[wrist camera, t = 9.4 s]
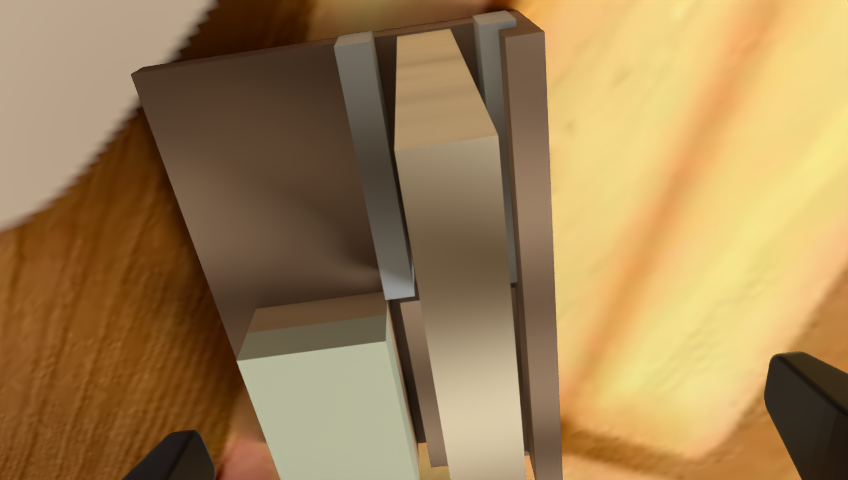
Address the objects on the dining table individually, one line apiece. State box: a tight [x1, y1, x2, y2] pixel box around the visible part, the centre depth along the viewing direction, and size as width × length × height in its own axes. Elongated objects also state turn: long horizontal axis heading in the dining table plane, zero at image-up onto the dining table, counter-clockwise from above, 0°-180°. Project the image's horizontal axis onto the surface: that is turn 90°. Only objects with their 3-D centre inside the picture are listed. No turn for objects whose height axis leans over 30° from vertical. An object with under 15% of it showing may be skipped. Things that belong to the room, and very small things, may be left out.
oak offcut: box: [247, 292, 419, 468], centre depth 24 cm, size 8×5×2 cm, turn 8°
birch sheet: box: [394, 29, 526, 480], centre depth 15 cm, size 8×2×10 cm, turn 8°
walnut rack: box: [131, 10, 563, 480], centre depth 21 cm, size 17×12×4 cm
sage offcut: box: [237, 315, 419, 480], centre depth 22 cm, size 8×5×2 cm, turn 8°
